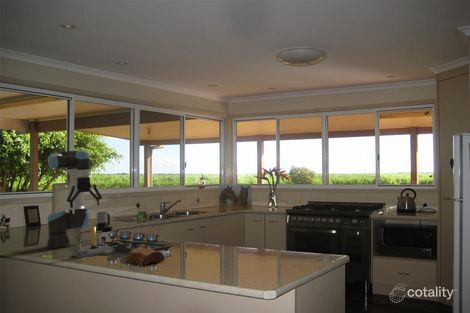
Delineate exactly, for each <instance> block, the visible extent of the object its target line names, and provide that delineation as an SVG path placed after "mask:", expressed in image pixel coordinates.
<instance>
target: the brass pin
mask: <svg viewBox="0 0 470 313" xmlns="http://www.w3.org/2000/svg"><path fill="white" fill-rule="evenodd" d="M96 228H97V227H93V226H90V227H89V234H90V247H91V249H95V248H97V246H98V245H97V244H98V243H97V229H96Z"/></svg>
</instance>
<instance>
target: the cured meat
mask: <svg viewBox="0 0 470 313" xmlns="http://www.w3.org/2000/svg"><path fill="white" fill-rule="evenodd" d="M164 261H165V256H164V253H163V252H161V251H157V250H155V249H151V248H143V247H137V248H133V249H132V250H131V251H129V252H128V253H127V255H126V257H125V262H126V263H130V264H132V265H138V266H140V267H146V266H147V265H148V264H150V263H152V264H158V263H162V262H164Z"/></svg>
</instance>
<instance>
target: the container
mask: <svg viewBox="0 0 470 313" xmlns="http://www.w3.org/2000/svg"><path fill="white" fill-rule="evenodd" d="M110 232H112V233H113V226H112V225H108V226H104V227H102V230H101V233H102V234H100V235H98V236H99V245H100V244H102V243H106V242H111V241H112V239H111V238H110V236H108V233H110ZM116 238H117V237H116ZM116 238H115V239H114V240H116ZM116 241H117V240H116Z"/></svg>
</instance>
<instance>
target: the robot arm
mask: <svg viewBox="0 0 470 313" xmlns="http://www.w3.org/2000/svg"><path fill="white" fill-rule="evenodd" d="M47 162H48V167H49V169H66V172H68V174H69V190H70V192H69V193H68V196H67V198H66V202H68V203H69V207H70V208H69V209H68V212H67V211H66V210H60V211H55V212H51V213H49V214H48V215H47V224H48V225H47V227H48V228H47V229H48V238H47V240H46V245H45V247H46V249H59V248H65V247H69V246H71V241H70V238H69V235H68V230H79V229H85V228H87V227H88V226H89V223H90V210H88V208H87V207H86V206H85V194H84V193H89V194H90V195H91V196H92V197H93V198H94V199H95V200H94V208H95V209H94V210H95V212H98V211H99V209H98V206H100V200H102V199H103V197H102V194H101V193H100V191H99V190H98V188H97V184H96V183H93V184H91V177H90V176H91V173H90V172H91V171H90V152H89V151H88V150H84V151H83V150H60V151H56V152H52V153H51V154H50V155H49V156H48V158H47ZM91 188H93V190H94V192H95V193H94V192H93V191H92V189H91Z"/></svg>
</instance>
